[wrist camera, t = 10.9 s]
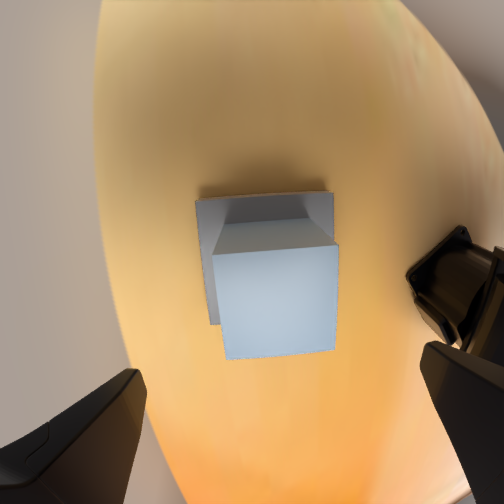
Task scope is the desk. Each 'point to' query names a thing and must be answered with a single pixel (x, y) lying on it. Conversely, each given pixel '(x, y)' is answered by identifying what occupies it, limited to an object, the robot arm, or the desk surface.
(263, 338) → the pale blue cube
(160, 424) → the desk surface
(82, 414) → the robot arm
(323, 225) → the base plate
